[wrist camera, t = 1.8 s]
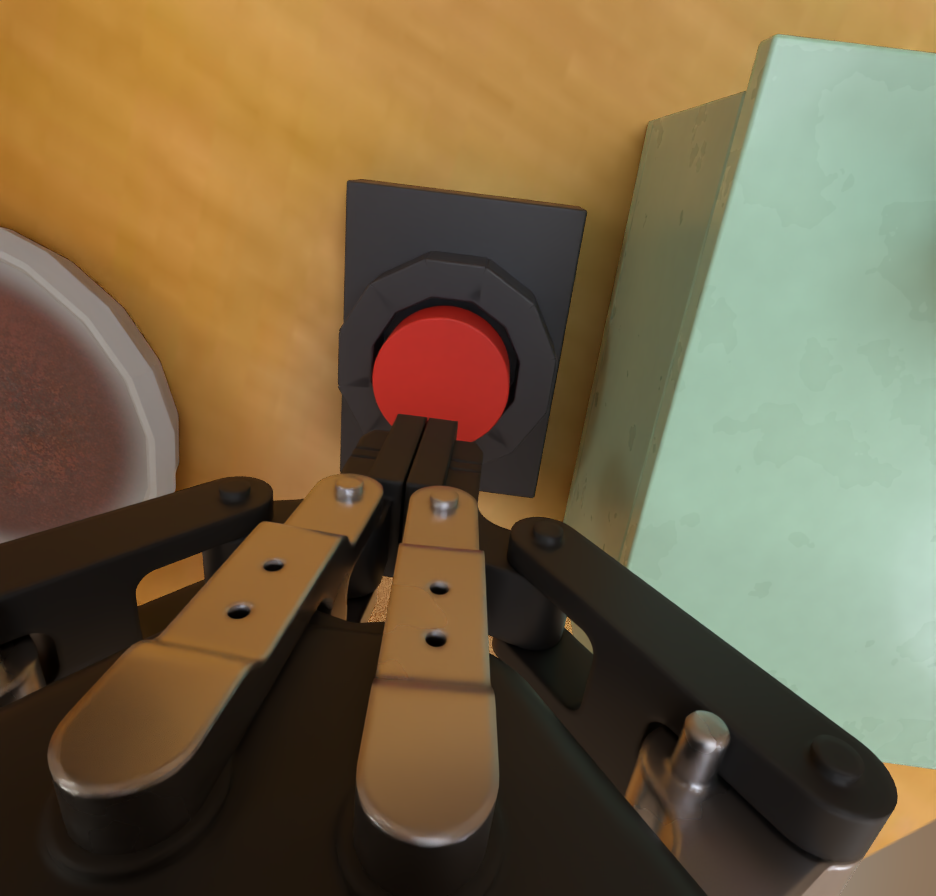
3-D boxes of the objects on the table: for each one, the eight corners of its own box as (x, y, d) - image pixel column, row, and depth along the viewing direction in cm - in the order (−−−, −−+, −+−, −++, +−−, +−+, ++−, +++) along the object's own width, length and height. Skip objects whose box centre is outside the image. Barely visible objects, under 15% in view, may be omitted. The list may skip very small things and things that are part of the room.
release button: (385, 296, 20) (374, 308, 18) (518, 314, 20) (519, 326, 18) (379, 419, 22) (368, 439, 20) (500, 435, 22) (499, 456, 20)
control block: (359, 178, 22) (329, 181, 18) (581, 206, 21) (595, 215, 18) (351, 452, 26) (325, 497, 23) (532, 475, 26) (536, 525, 23)
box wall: (648, 121, 20) (744, 88, 12) (1072, 173, 20) (1475, 179, 12) (559, 536, 27) (580, 700, 19) (870, 577, 27) (1029, 761, 19)
